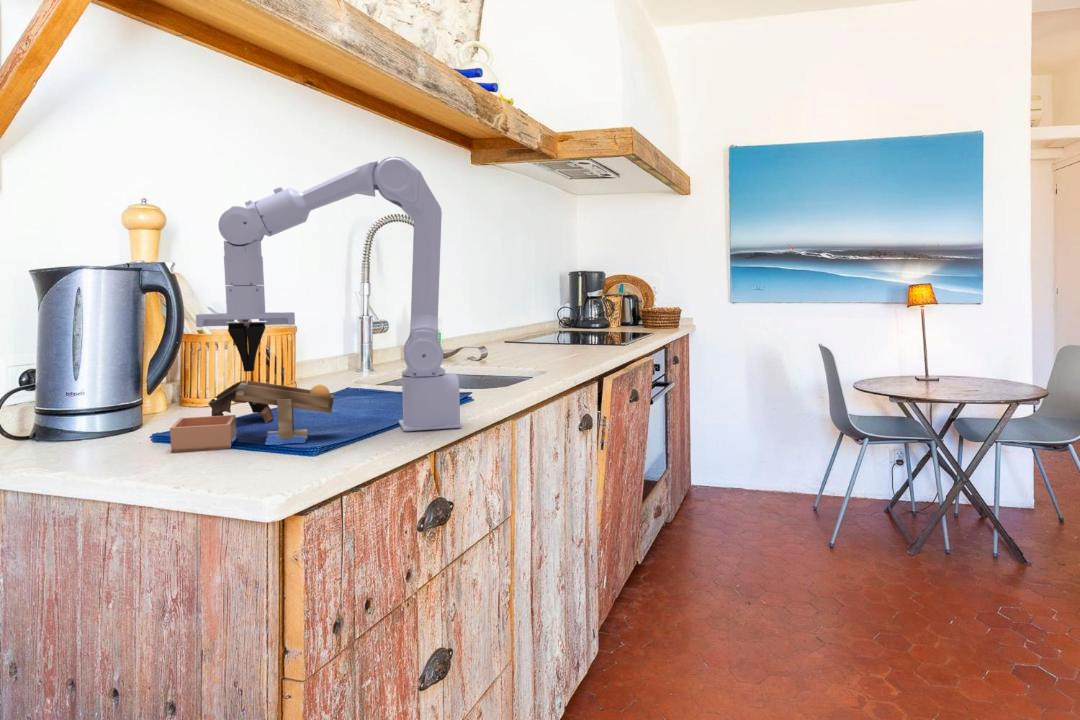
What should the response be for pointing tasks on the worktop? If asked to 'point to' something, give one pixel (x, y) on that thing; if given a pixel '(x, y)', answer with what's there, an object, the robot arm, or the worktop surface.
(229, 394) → the dark brown bent piece
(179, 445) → the open cardboard tray
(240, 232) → the robot arm
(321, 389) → the ball
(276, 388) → the catapult lever
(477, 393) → the worktop surface
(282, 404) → the fulcrum stand
